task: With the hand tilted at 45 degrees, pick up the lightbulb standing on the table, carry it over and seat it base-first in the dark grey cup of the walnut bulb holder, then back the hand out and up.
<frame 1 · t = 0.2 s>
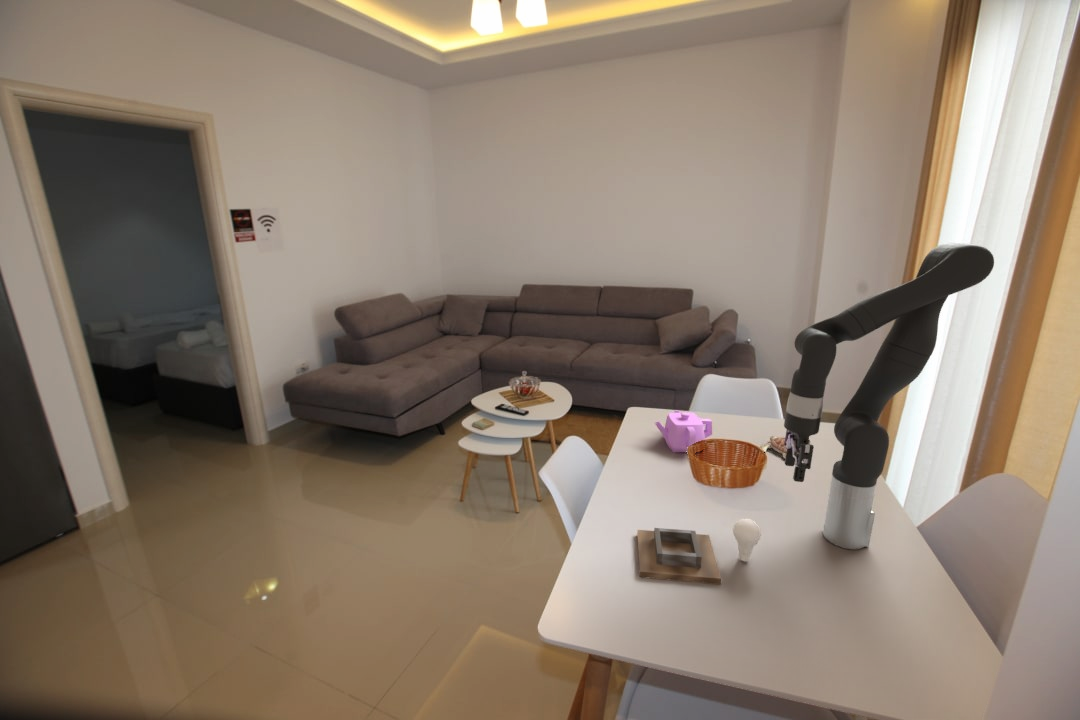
hand: (793, 472, 120), 18 cm above the table, tool pointing down, fingers open, 8 cm apart
lightbulb: (743, 561, 116), on the table
bulb holder: (675, 557, 118), on the table
decorative turtle: (784, 452, 171), on the table
teakettle: (681, 444, 178), on the table
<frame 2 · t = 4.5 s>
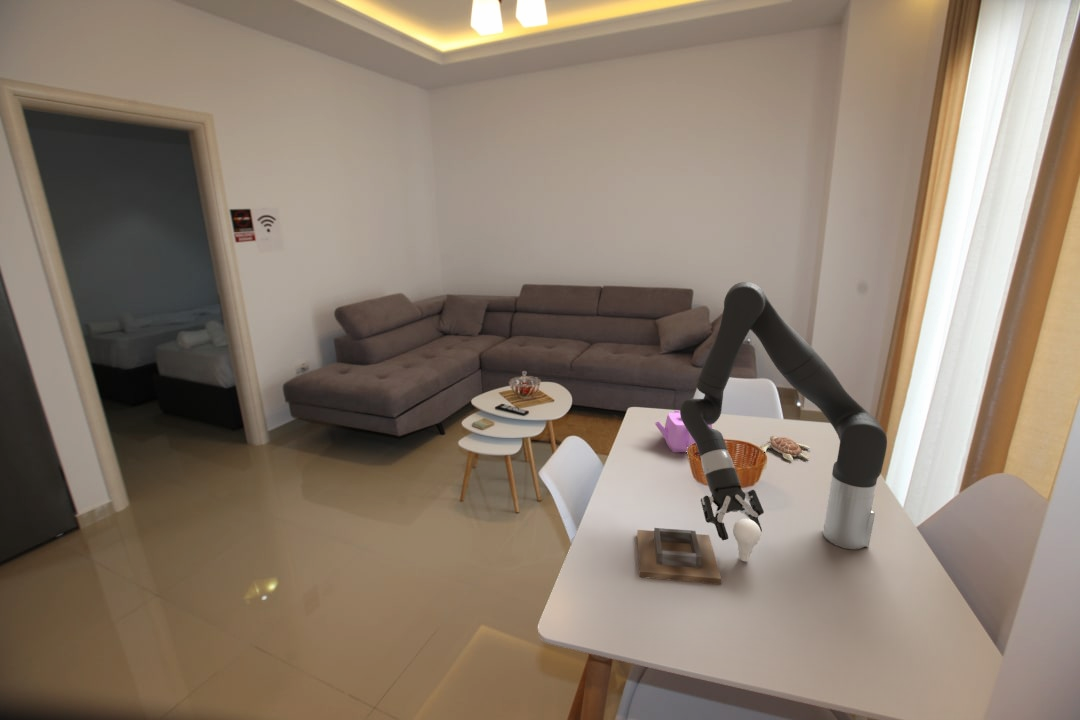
hand: (741, 537, 115), 6 cm above the table, tool tilted 45°, fingers open, 8 cm apart
nothing on the table moved.
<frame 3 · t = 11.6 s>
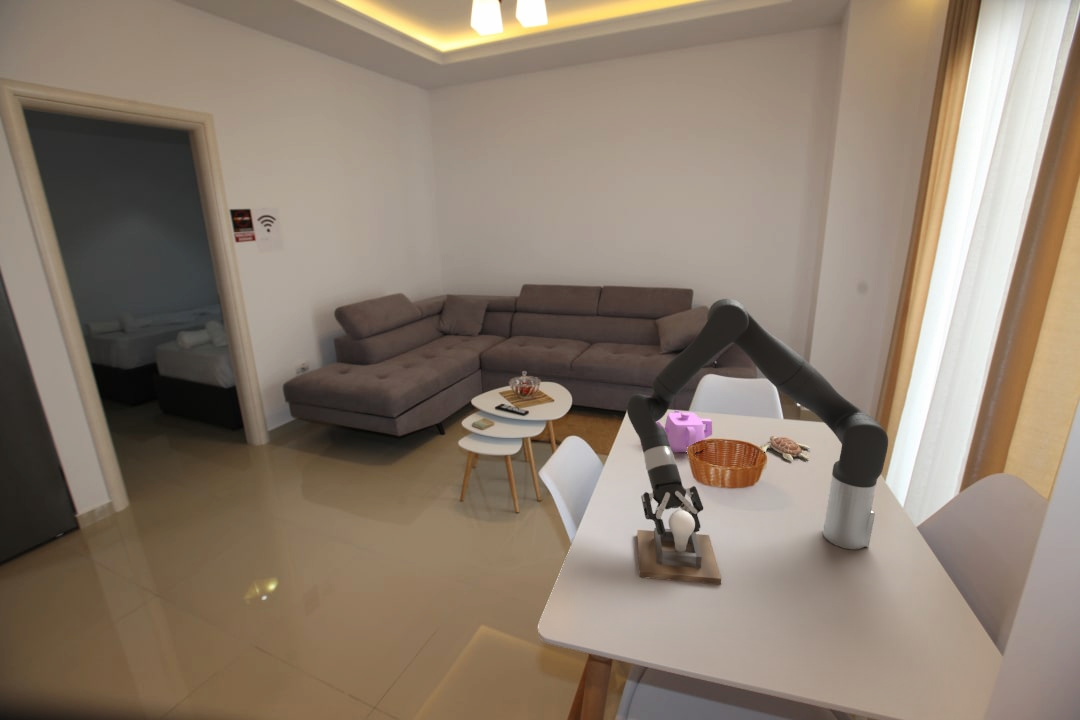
hand: (680, 533, 114), 8 cm above the table, tool tilted 45°, fingers open, 8 cm apart
lightbulb: (680, 552, 118), point 1 cm above the table, touching bulb holder, gripper
everything else where it was.
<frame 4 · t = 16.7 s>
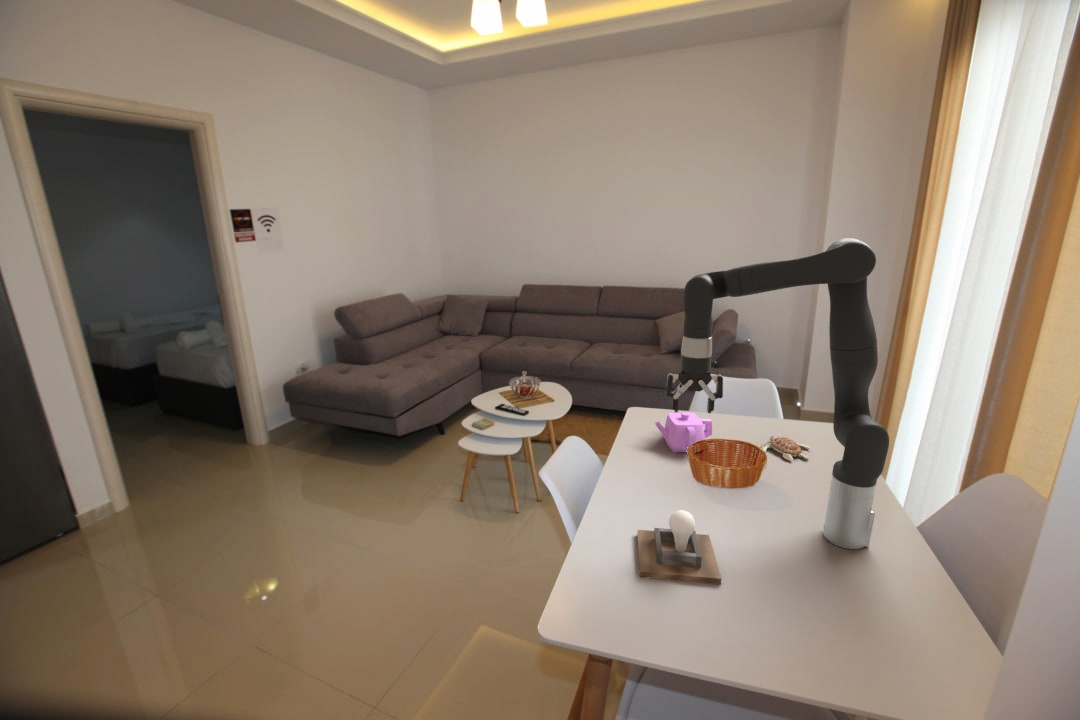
hand: (692, 411, 129), 30 cm above the table, tool pointing down, fingers open, 8 cm apart
lightbulb: (680, 552, 118), point 1 cm above the table, touching bulb holder
everything else where it was.
at the end: lightbulb 1.0 cm off-centre on the bulb holder, point 1.3 cm above the bulb holder's base; lightbulb tilted 0°; the gripper is holding nothing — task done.
